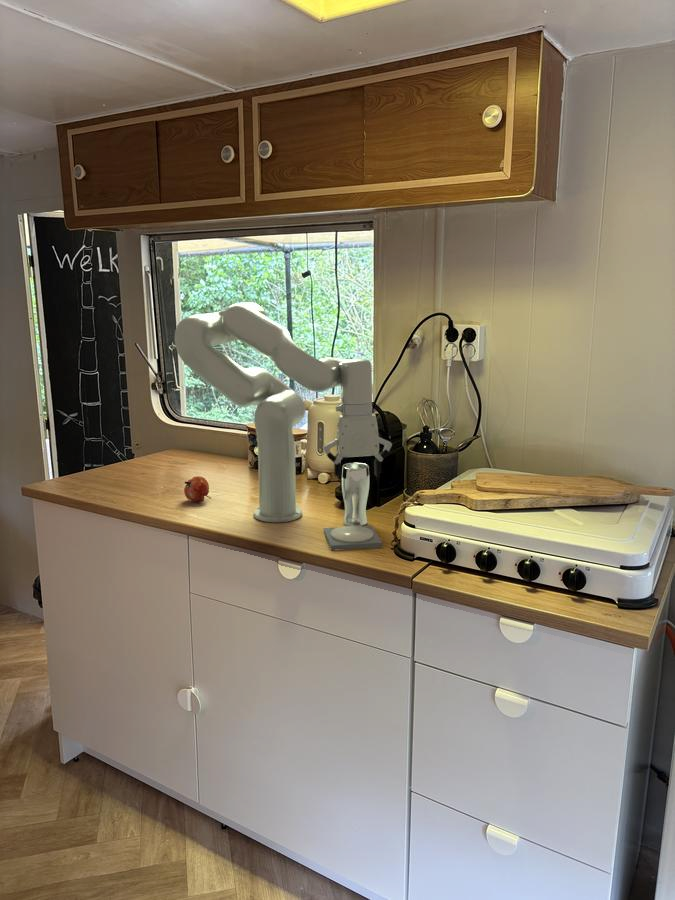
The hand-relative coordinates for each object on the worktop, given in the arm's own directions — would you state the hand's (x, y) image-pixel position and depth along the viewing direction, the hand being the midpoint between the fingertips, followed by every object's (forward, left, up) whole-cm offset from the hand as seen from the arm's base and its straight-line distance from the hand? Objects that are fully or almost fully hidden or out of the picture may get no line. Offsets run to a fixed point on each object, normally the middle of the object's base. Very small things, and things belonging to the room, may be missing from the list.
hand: (358, 477), depth 176 cm
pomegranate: (-25, -41, -12) cm, 49 cm away
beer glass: (0, -1, -12) cm, 12 cm away
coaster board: (+12, -4, -12) cm, 17 cm away
